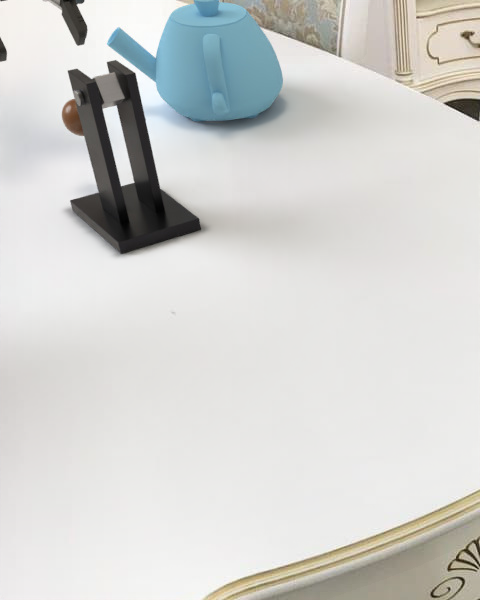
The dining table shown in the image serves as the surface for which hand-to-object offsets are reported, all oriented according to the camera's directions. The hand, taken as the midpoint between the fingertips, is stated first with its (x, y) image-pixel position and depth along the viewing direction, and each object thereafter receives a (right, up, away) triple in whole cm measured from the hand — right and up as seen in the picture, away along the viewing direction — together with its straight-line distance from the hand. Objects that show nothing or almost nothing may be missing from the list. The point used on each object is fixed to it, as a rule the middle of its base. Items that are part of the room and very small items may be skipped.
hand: (43, 49), depth 117 cm
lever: (+7, -10, -4) cm, 13 cm away
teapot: (+11, +4, +22) cm, 25 cm away
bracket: (+10, -18, 0) cm, 20 cm away
